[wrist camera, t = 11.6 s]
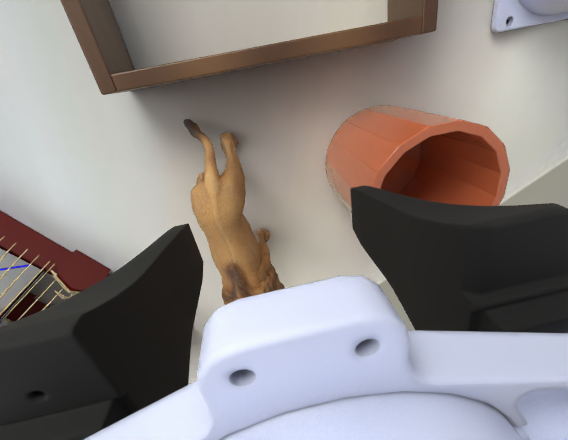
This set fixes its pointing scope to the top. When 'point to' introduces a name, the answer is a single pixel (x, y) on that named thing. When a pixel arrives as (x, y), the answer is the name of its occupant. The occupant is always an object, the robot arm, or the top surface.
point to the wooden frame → (122, 77)
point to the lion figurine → (231, 224)
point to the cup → (418, 157)
